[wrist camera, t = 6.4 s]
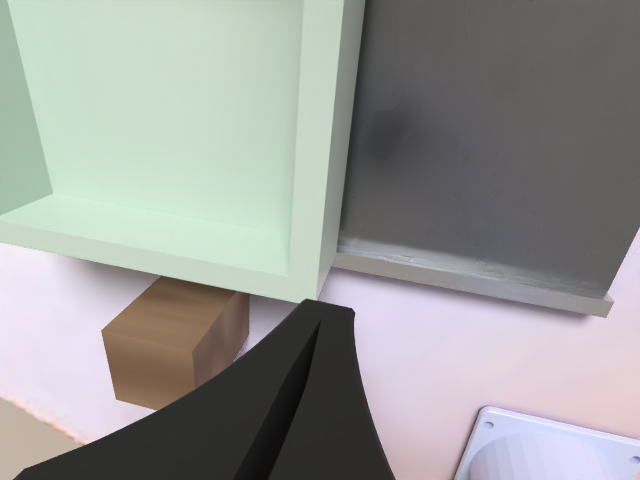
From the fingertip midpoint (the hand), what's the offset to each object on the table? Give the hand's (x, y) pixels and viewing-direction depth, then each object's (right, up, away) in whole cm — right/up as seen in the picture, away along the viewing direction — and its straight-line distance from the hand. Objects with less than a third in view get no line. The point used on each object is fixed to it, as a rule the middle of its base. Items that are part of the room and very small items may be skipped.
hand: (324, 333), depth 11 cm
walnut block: (-6, -1, +12) cm, 13 cm away
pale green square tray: (-5, +10, +6) cm, 13 cm away
